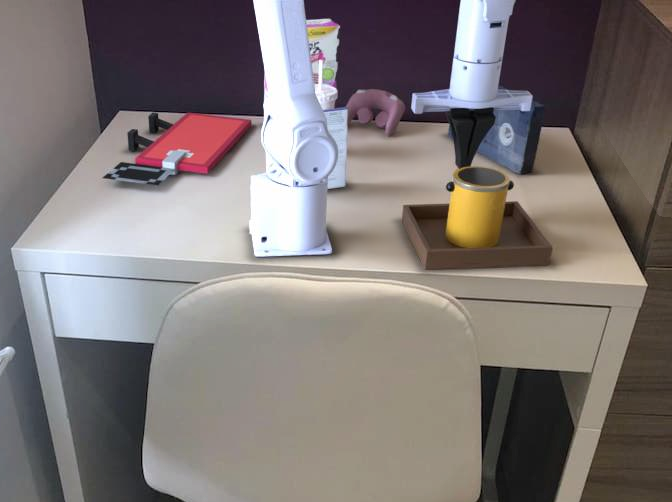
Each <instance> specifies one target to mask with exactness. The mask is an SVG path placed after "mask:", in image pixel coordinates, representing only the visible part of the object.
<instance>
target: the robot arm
mask: <svg viewBox="0 0 672 502" xmlns="http://www.w3.org/2000/svg"><path fill="white" fill-rule="evenodd" d="M516 1H517V0H460V3H459V10H458V11H459V12H458V19H457V28H456V34H455V35H456V36H455V43H454V50H453V51H454V52H453V58H452V66H451V75H450V82H449V88H447V89H440V90H433V91H427V92H413V93H412V97H411V106H410V109H411V110H412V112H413V113H414V115H421V114H423V113H427V112H428V113H430V112H431V113H432V112H444V113H445V115H446V119H447V122H448V126H449V125H450V128H451V132H452V136H453V138H452V141H453V146H454V158H455V159H454V160H455V162H454V163H455V166H456V167H457V169H460V168H463V167H469V166H472V163H473V160H474V158H475V156H476V153H477V149H478V147H479V146H480V144H481V142H482V140H483V139H484V137H485V136H486V134H487V133H488V132H489V130H490V129H491V128H492V127H493V125H494V123H495V119H496V116H495V115H494V114H493V112H494V110H521V111H530V109H531V103H532V100H533V98H534V96H533V94H531V92H529V91H528V90H513V89H512V90H511V89H509V90H501V89H498V85H499V83H500V76H501V70H502V64H503V59H504V58H503V57H504V52H505V47H506V45H505V44H506V39H507V32H508V25H509V19H510V16H512V15H513V11H514V10H513V9H514V5H515V3H516ZM252 2H253V8H254V13H255V18H256V19H255V20H256V25H257V31H258V36H259V37H258V38H259V43H260V50H261V55H262V62H263V67H264V68H265V70H264V71H265V74H266V80H267V86H268V93H269V96H268V98H267V99H266V101H265V102H264V101H263V104H262V105H263V106H262V107H263V115H264V114H265V118H264V117H263V123H262V127H261V131H260V139H261V144H262V147H263V148H264V150H265V152H266V151H267V152H268V153H269V154H270V155H271V156H270V162H269V165H268V172H266V171H265V172H261V173H257V174H256V173H255V174H252V175H250V219H249V221H248V225H249V228H248V229H249V235H251V240H252V246H253V253H254V256H255V257H258V258H259V257H263V258H264V257H285V256H286V257H287V256H289V257H290V256H312V255H313V256H315V255H316V256H318V255H332V254H333V248H332V244H331V241H330V238H329V235H328V234H329V233H328V231H327V211H328V210H327V209H328V190H329V189H328V176H329V175H330V174H331V172H332V171H333V170H334V168H335V166H336V163H337V160H338V147H337V143H336V141H335V140H334V138H333V137H332V136H331V134H330V133H329V130H328V127H327V120H326V116H325V114H324V111H323V109H322V107H321V105H320V103H319V101H318V98H317V96H316V93H315V86H314V78H313V70H312V63H311V55H310V47H309V39H308V32H307V24H306V20H307V17H306V9H305V1H304V0H253V1H252ZM264 68H263V69H264Z"/></svg>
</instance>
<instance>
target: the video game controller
mask: <svg viewBox="0 0 672 502" xmlns="http://www.w3.org/2000/svg"><path fill="white" fill-rule="evenodd" d="M345 107H348V125H349V124H350V123H351V122H352V121H353V120H354V118H356V117H355V116H356V115H357V118H358V121H359V122H360V123H361V124H363V125H370V124H371V123H372V122H373V120H374V123H375V125H376V126H377V127H378V128H380V129H385V134H386V136H388V137H390V136H392V135H393V134H394V133H395V132H396V130H397V128H398V127H399V125H400V122H401V118H402V117H403V116H404V113H405V112H406V111H405V110H406V105H405V103H404V102H403V101H402V100H401V99H400V98H399V97H398V96H396V95H395V94H393V93H390V92H388V91H386V90H381V89H376V88H371V89H358V90H357V91H356V92H355V93H353V94H352V95H351V96H350V98H349V100H348V101H347V103H346V105H345ZM372 109H376V110H380V112H379V113H378V114H377V115H376V116H375V119H374V114H373V111H372Z"/></svg>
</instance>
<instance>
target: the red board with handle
mask: <svg viewBox="0 0 672 502" xmlns="http://www.w3.org/2000/svg"><path fill="white" fill-rule="evenodd" d="M251 127H252V119H249V118H240V117H239V118H238V117H231V116H223V115H213V114H204V113H197V112H186V113H185V114H184V115H183V116H182V117H181V118H179V120H177V121H176V122H175V123H174V124H173V123H171V122H168V121H166V120H164V119H161V118H159V112H152V113H150V114H149V115H148V130H149V131H148V132H149V134H154V135H155V134H157V133H158V132H159V131H160V128H161V129H163V130H166V131H164V132H163V133H162V134H161V135H159V136H158V138H156V139H155V140H151V139H149V138H147V137H144V136H141V135H139V130H138V129H136V128H131V129H130V130H129V131H128V132H126V133H127V146H128V147H127V148H128V151H130V152H135V151H137V150H138V149H139V148H140V146H142V147H145V148H144V150H143V151H142V152H140V153H139V154H138V155H137V156H136V157H135V158H134V162H135V163H134V162H133V163H132V162H124V161H121V162H119V163H118V164H116V165H115V166H114V167H113V168H112V169H111V170H110V171H108V172H107V173H106V174H105V175H104V176H102V179H106V180H113V181H121V182H127V183H128V182H130V183H136V184H144V185H149V186H157V187H158V186H159V185H161V183H162V182H164V180H166V179H167V178H168V177H169V175H171V176H176V175H177V174H178V173H179V172H180V171H183V172H184V171H185V172H191V173H198V174H199V173H200V174H209V173H210V172H211V171H212V169H214V167H216V165H217V164H218V163H219V162H220V161H221V160H222V159H223V158H224V156H225V155H226V154H227V153H228V152H229V151H230V150H231V148H233V146H235V144H237V142H238V141H239V140H240V139H241V138H242V137H243V136H244V134H245V133H247V131H248V130H249V128H251Z"/></svg>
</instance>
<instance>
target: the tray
mask: <svg viewBox="0 0 672 502" xmlns="http://www.w3.org/2000/svg"><path fill="white" fill-rule="evenodd" d="M449 204H450V202H449V203H423V204H422V203H421V204H403V205H402V213H401V214H402V215H401V223H402V225H403V227H404V229H405V232H406V233H407V236H408V237H409V238H408V239H409V240H410V242H411V244H412V246H413V248H414V250H415V252H416V254H417V256H418V259H419V260H420V263H421V265H422V267H423V269H424V270H449V269H450V270H451V269H452V270H453V269H476V268H477V269H478V268H504V267H507V268H508V267H527V266H529V267H530V266H531V267H532V266H533V267H534V266H549V265H550V264H551V263H550V262H551V258H552V254H553V248H554V246H553V245H552V244H551V243H550V242H549V240H548V238H546V236H545V235H544V234H543V232H542V230H541V229H540V228H539V227H538V226H537V225H536V223H535V221H533V220H532V218H531V217H530V215H529V214H528V213H527V212H526V210H525V209H524V208H523V206H522V205H521V203H519V201H517V200H516V201H515V200H514V201H506V203H505V208H504V214H503V219H502V225H501V231H500V236H499V241H498V243H497V244H496V245H494V246H492V247H482V248H464V247H460V246H457V245H455V244H453V243H451V242H450V241H449V240H448V239H447V238H446V235H445V234H446V226H447V219H448V212H449Z"/></svg>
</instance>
